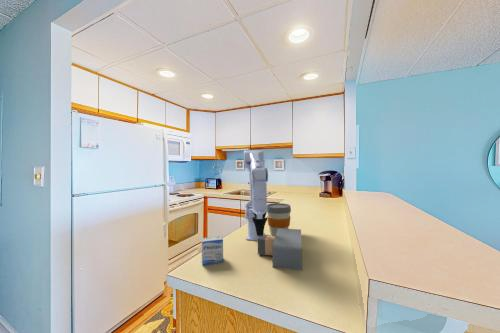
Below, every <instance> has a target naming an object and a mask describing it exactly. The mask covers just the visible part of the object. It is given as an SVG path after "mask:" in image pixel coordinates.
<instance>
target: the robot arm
mask: <svg viewBox="0 0 500 333" xmlns="http://www.w3.org/2000/svg"><path fill="white" fill-rule="evenodd" d="M264 158H265V157H264V151H263V149H260V150H258V149H251V150H249V149H248V150H246V149H245V150H243V165H244V167H245V168H246V169H247V170H248V173H249V196H250V197H249V198H250V200H248V201H247V202H245V206H244V207H245V208H244V216H245V219H246V220H247V231H248V232H247V234H248V235H247V236H246V238H245V240H248V241H258V237H259V236H266V233H265V226H266V223H267V222H268V219H267V216H266V215H267V214H268V213H267V205H268V200H267V199H268V196H267V194H268V191H267V190H268V189H267V185H268V184H267V183H268V181H269V172H268V168H267V167H265V166H264Z"/></svg>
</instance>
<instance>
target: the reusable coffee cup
mask: <svg viewBox="0 0 500 333" xmlns="http://www.w3.org/2000/svg"><path fill="white" fill-rule="evenodd" d="M291 212H292V209H291V204H288V203H278V202H277V203H275V202H274V203H269V204H268V203H267V213H266V214H267V216H266V218H267V225H268V227H269V234H270V235H269V236H273V237H275V236H276V233H277V230H278V228H283V229H290V228H289V227H290V225H291Z"/></svg>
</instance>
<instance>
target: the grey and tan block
mask: <svg viewBox="0 0 500 333" xmlns="http://www.w3.org/2000/svg"><path fill="white" fill-rule="evenodd" d="M274 239H275V237H273V236H271V235H264V236H259V237H258V240H257V255H266V256H273V249H272V246H273V243H274Z"/></svg>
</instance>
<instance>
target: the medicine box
mask: <svg viewBox="0 0 500 333" xmlns="http://www.w3.org/2000/svg"><path fill="white" fill-rule="evenodd" d="M200 242H201V265H202V266H205V265H212V264H220V263H224V239H223V237H222V236H221V235H219V236H212V237H209V236H208V237H202V238H201V241H200Z"/></svg>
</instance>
